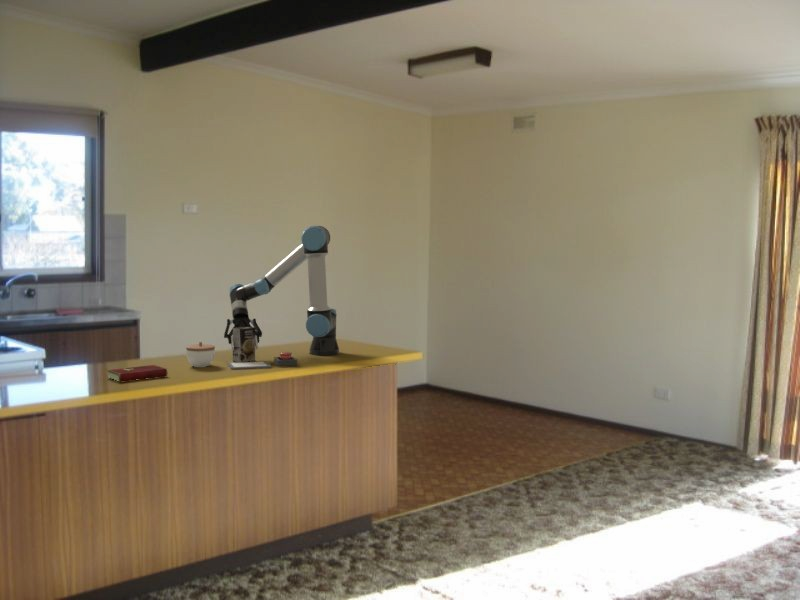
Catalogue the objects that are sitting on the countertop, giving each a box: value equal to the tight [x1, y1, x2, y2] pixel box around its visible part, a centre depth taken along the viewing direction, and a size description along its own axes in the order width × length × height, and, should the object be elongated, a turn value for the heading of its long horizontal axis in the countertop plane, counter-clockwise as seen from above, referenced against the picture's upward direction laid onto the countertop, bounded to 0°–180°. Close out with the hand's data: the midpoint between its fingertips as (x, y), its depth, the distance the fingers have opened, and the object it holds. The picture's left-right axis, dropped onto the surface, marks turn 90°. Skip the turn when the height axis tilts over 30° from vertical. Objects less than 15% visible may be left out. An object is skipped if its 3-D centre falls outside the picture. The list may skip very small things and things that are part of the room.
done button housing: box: [273, 356, 298, 367], centre depth 370 cm, size 9×9×3 cm
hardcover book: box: [106, 364, 168, 383], centre depth 334 cm, size 12×21×4 cm, turn 133°
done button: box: [279, 351, 292, 360], centre depth 370 cm, size 6×6×3 cm
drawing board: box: [226, 361, 272, 370], centre depth 364 cm, size 18×13×1 cm
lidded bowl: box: [185, 341, 216, 368], centre depth 362 cm, size 13×13×11 cm
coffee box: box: [232, 326, 256, 363], centre depth 377 cm, size 9×6×16 cm
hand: (245, 348), depth 374 cm, fingers closed on coffee box, 11 cm apart
